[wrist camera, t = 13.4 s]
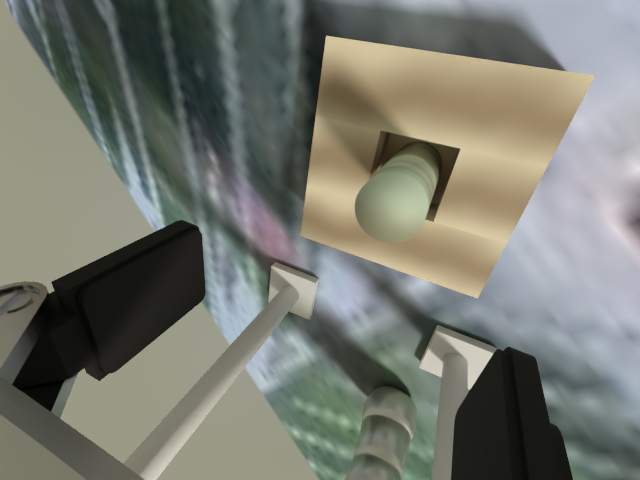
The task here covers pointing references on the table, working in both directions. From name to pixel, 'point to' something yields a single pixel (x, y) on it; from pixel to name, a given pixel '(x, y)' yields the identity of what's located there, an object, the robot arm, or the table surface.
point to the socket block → (450, 141)
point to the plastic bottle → (384, 436)
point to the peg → (399, 194)
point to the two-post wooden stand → (284, 296)
